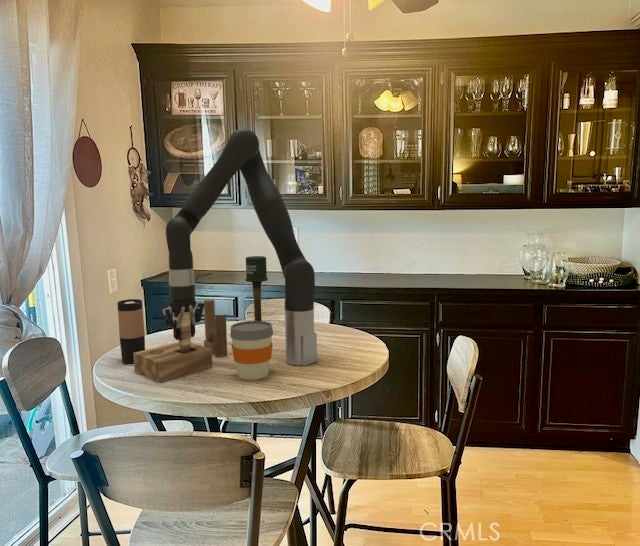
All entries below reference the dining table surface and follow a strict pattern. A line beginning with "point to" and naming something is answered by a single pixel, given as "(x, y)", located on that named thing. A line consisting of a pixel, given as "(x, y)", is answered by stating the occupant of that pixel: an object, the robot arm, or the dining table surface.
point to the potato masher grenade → (256, 280)
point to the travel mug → (131, 328)
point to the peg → (185, 332)
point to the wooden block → (215, 330)
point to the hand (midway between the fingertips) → (184, 337)
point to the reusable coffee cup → (252, 348)
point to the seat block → (172, 361)
